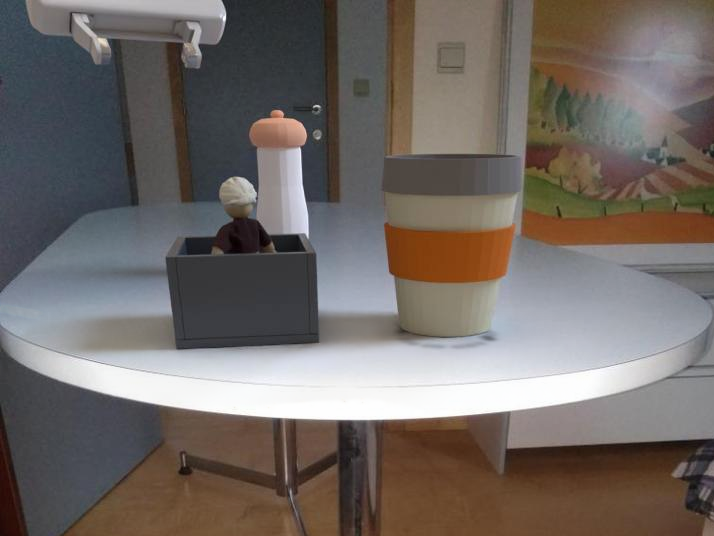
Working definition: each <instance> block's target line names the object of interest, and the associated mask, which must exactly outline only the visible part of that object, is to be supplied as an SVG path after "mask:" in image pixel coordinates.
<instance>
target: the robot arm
mask: <svg viewBox="0 0 714 536" xmlns="http://www.w3.org/2000/svg"><path fill="white" fill-rule="evenodd" d="M25 6H26V10H27V15H28V18H29V22H30V24H31V27H33V29H35V30H36V31H38V32H39V33H40V34H42V35H46V36H60V37H72V38H73V41H74V42H75V43H76V44H78V45H79V46H80V47H81V48H83V49H84V50H85V51H86V52H88V53H90V55H91V58H92V61H93V63H94V64H95V65H101V66H103V65H104V66H105V65H107V66H109V65H111V63H112V60H111V58H112V49H111V46H110V45H109V42H108V39H110V40H111V39H115V40H129V41H130V40H131V41H145V42H166V43H179V44H180V43H182V44H183V45H182V51H181V55H180V58H181V60H182V62H183V63H184V67H185V68H187V69H200V68H201V63H202V60H203V59H202V58H203V57H202V55H203V54H202V52H201V50H200V47H199V45H218V43H219V42H220V41H221V39H222V37H223V34H224V32H225V31H224V30H225V26H226V22H227V11H226V7H225V5H224V3H223V0H25Z"/></svg>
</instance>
